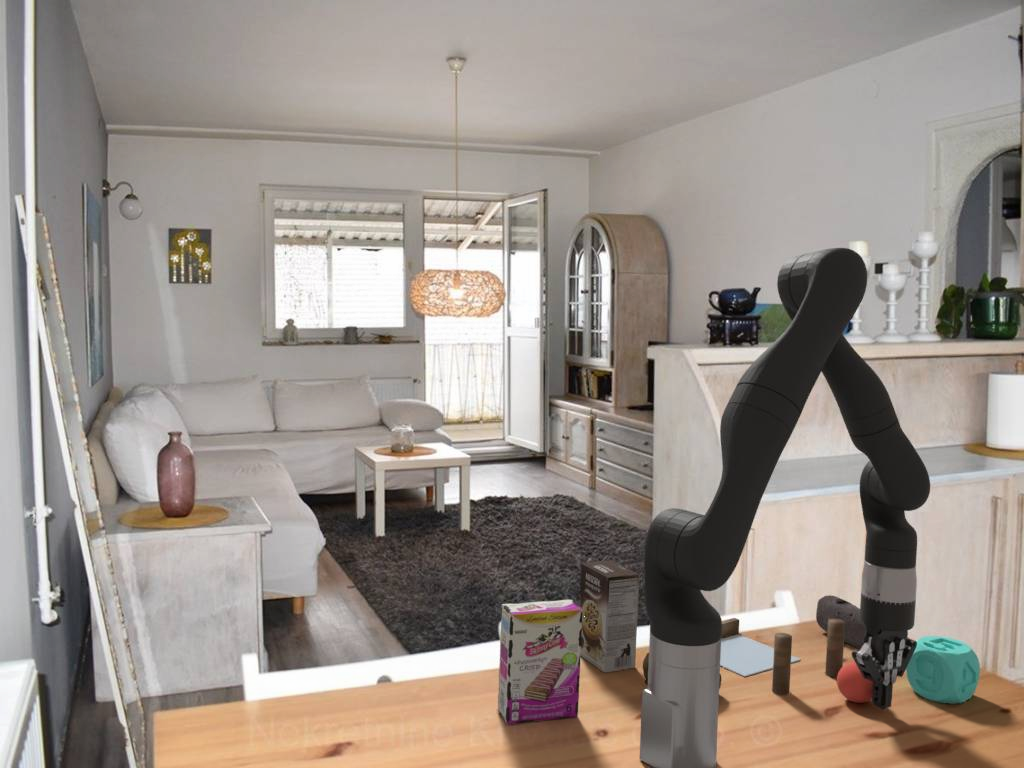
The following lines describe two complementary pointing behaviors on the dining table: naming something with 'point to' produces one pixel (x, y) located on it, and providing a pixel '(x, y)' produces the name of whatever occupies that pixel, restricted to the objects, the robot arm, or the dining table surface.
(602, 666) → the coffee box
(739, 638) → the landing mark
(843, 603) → the perforated stone tool
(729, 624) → the stopper rail
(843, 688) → the ball
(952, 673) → the decorative dice
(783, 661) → the post left
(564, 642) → the candy bar box
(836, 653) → the post right
